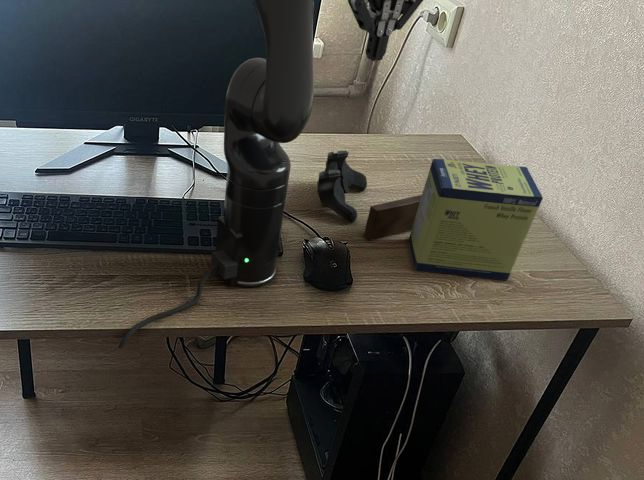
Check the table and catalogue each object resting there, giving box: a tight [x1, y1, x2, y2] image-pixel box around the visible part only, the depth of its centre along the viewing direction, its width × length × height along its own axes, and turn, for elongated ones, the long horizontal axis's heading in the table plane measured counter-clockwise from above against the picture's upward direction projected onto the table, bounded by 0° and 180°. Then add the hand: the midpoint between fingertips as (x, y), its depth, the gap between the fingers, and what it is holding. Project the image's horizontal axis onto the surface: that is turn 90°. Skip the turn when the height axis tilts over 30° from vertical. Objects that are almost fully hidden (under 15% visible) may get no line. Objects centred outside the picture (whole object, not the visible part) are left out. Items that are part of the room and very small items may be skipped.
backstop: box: [363, 194, 422, 241], centre depth 125 cm, size 20×2×6 cm, turn 115°
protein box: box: [408, 158, 544, 281], centre depth 115 cm, size 10×16×16 cm
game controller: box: [316, 150, 368, 224], centre depth 131 cm, size 16×7×10 cm, turn 161°
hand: (373, 59), depth 109 cm, fingers closed
